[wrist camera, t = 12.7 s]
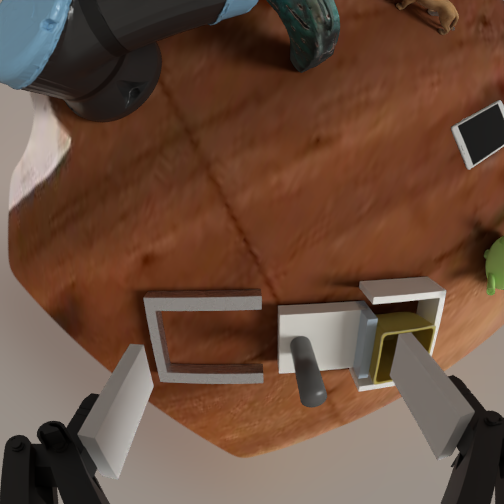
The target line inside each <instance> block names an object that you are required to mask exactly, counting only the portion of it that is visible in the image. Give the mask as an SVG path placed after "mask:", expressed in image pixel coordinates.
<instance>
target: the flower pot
mask: <svg viewBox="0 0 504 504" xmlns="http://www.w3.org/2000/svg"><path fill="white" fill-rule="evenodd" d="M376 317H377V318H378V322H377V328H376V333H375V340H374V347H373V352H372V358H371V363H370V368H369V373H370V376H371V379H372V382H373V384H374V385H377V384H383V383H387V382H392V381H393V380H392V378H391V377H390V372H391V368H392V364H393V359H394V355H395V350H396V345H397V340H398V335H399V334H403V333H410V332H411V333H412V334H413V335H414V336H415V338H416V339H417V340H418V341H419V342H420V344H421V345H422V346H423V347H424V348H425V349H426V351H427V352H428V353H429V354H430V350H431V347H432V342H433V339H434V334H435V329H436V326H435V325H433V324H432V323H430V322H429V321H427V320H426V319H424V318H422V317H421V316H419V315H417V314H415V313H411V312H393V313H386V314H376Z"/></svg>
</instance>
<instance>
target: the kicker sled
mask: <svg viewBox="0 0 504 504" xmlns="http://www.w3.org/2000/svg"><path fill="white" fill-rule="evenodd" d="M377 322H378V318H377V317H376V315H375V314H374V313H373V312H372V310H371V309H370V308H369V306H368V305H367V304H366V302H365V301H352V302H337V303H321V304H303V305H281V306H278V369H279V373H295V374H296V379H297V384H298V389H299V394H300V399H301V403H302V404H303V405H304V406H306V407H316V406H319V405H321V404H322V403H324V402H325V400H326V398H327V393H326V390H325V387H324V383H323V380H322V377H321V374H320V371H322V370H332V369H342V368H351V367H353V368H354V370H355V373H356V375H357V377H358V379H360V378H367V377H368V373H369V368H370V363H371V358H372V352H373V347H374V340H375V333H376V328H377Z"/></svg>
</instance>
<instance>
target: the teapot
mask: <svg viewBox="0 0 504 504" xmlns="http://www.w3.org/2000/svg"><path fill="white" fill-rule="evenodd" d="M484 258H485V259H486V264H485V268H486V276H487V279H488V281H487V294H488V295H493V294H494V293H495V288H497V289H501V290H504V236H502V237H500V238H499V239H498V240H496V241H495V242H494V244H493V245H492V246H491V248H490V249H489V250H488V249H487V250H486V251H485V253H484Z"/></svg>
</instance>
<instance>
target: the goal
mask: <svg viewBox="0 0 504 504" xmlns="http://www.w3.org/2000/svg"><path fill="white" fill-rule="evenodd" d="M359 288H360V289H361V291H362V292H363V293H364V294H365V295H366V297H367V298H368V299H369V300H370V301H371V303H372V304H383V303H394V302H404V301H414V300H419V301H418V307H417V313H416V314H417V315H419V316H421V317H422V318H424V319H426V320H427V321H429V322H430V323H432V324H433V325H435V326H436V329H435V334H434V339H433V342H432V347H431V350H430V355H431V356H432V352H433V349H434V345H435V341H436V337H437V333H438V329H439V325H440V320H441V316H442V311H443V306H444V301H445V296H446V290H445V289H444V288H442V287H441V286H440V285H438V284H437V283H436V282H434V281H433V280H431V279H430V278H429V277H416V278H402V279H387V280H372V281H360V283H359ZM349 371H350V373H351V375H352V377H353V380H354V382H355V384H356V387H357V389H358V391H365V390H372V389H378V388H384V387H390V386H395V384H394V382H393V381H392V382H387V383H383V384H377V385H374V384H373V382H372V379H371V376H370V373H368V377H367V378H360V379H358V377H357V375H356V373H355V370H354V368H353V367H351V368H349Z"/></svg>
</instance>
